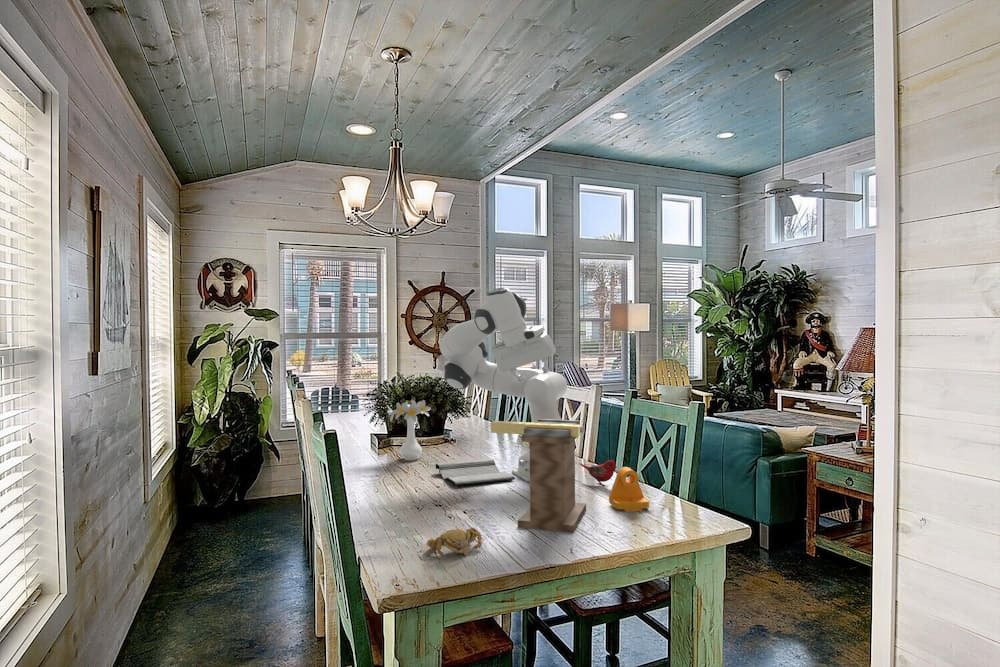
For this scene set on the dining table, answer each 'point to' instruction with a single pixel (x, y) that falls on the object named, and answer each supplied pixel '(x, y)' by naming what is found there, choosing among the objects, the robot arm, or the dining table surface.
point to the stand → (552, 479)
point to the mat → (472, 472)
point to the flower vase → (410, 426)
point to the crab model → (455, 541)
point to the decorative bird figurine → (601, 471)
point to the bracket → (627, 492)
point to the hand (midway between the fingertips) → (533, 376)
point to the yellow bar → (519, 427)
